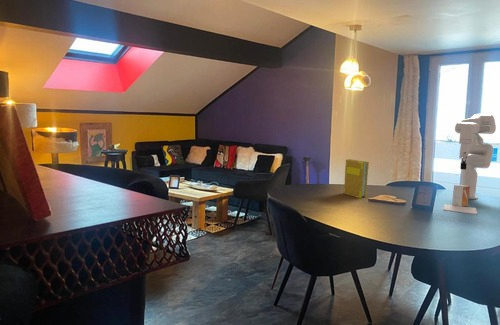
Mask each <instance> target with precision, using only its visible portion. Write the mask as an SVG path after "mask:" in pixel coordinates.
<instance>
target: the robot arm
mask: <svg viewBox="0 0 500 325" xmlns="http://www.w3.org/2000/svg"><path fill="white" fill-rule="evenodd" d="M496 126H497V125H496V120H495V117H494V115H492V114H491V113H490V114H489V113H476V114H473V115H471V117H470V118H465V119H460V120H459V121H457V122H456V124H455V126H454V131H455V132H456V134H459V142H458V143H459V144H460V146H459V159H461V160H460V161H461V162H460V167H459V168H460V170H462V173H461V184H460V185H464V186H470V188H469V198H468V200H476V199H479V197H478V195H476V193H477V192H476V191H477V185H478V184H477V182H478V172H477V171H476V169H489V167H490V166H491V162H492V159H493V154H494V146H493V145H492V144H489V143H484V139H483V137H482V136H481V135H480V134H483V135H486V134H487V135H493V134H494V133H495V132H496V131H497V130H496V128H497V127H496Z"/></svg>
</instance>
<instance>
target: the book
mask: <svg viewBox="0 0 500 325" xmlns="http://www.w3.org/2000/svg"><path fill="white" fill-rule="evenodd" d="M369 164H370V162H369V161H365V160H360V159H359V160H357V159H351V158H350V159H347V158H346V159H345V169H344V183H343V184H344V185H343V186H344V187H343V194H344V195H347V196H352V197H355V198H359V199H361V198H367V195H368V189H367V188H368V177H369V175H368V174H369Z"/></svg>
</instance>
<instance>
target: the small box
mask: <svg viewBox="0 0 500 325" xmlns="http://www.w3.org/2000/svg"><path fill="white" fill-rule="evenodd" d="M469 188H470V186H464V185H461V184H454V185H453V190H452V191H453V194H452V202H451V205H454V206H463V207H468V205H469V199H468V198H469Z"/></svg>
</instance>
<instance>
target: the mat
mask: <svg viewBox="0 0 500 325" xmlns="http://www.w3.org/2000/svg"><path fill="white" fill-rule="evenodd" d="M443 211H447V212H452V213H453V212H456V213H463V214H469V215H478V210H477V207H470V206H469V207H468V206H456V205H452V204H445V203H444V204H443Z"/></svg>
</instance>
